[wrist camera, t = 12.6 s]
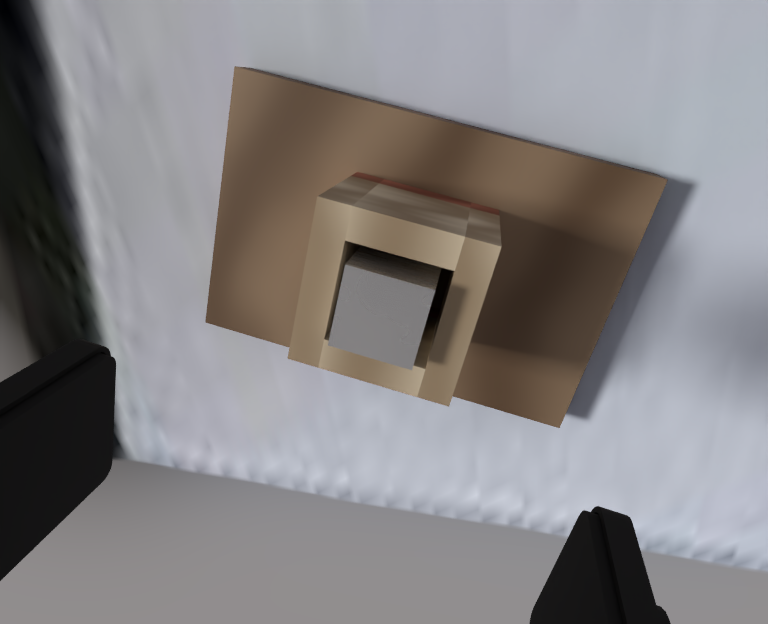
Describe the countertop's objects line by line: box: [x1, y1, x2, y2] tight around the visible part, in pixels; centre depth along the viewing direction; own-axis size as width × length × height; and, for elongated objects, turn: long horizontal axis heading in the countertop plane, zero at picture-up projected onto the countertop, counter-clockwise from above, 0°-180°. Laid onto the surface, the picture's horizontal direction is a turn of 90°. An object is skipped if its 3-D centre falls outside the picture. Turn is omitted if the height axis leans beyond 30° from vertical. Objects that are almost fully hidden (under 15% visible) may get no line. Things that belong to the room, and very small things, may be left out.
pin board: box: [206, 66, 668, 428], centre depth 25 cm, size 18×12×2 cm, turn 77°
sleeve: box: [288, 172, 502, 406], centre depth 22 cm, size 6×6×6 cm
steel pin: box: [328, 245, 442, 370], centre depth 22 cm, size 3×3×7 cm
